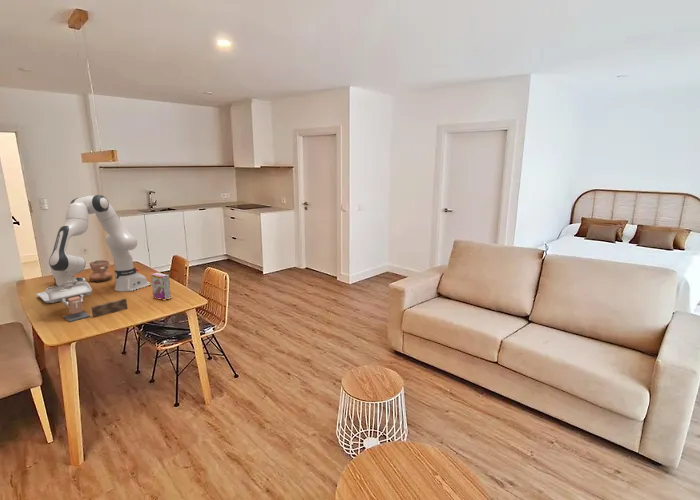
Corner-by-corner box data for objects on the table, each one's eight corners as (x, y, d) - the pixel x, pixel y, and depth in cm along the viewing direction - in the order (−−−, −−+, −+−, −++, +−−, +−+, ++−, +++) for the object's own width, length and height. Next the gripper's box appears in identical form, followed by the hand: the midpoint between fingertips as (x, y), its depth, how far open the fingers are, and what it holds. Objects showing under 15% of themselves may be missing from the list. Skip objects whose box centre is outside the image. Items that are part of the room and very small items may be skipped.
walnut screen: (125, 307, 235) (124, 298, 233) (127, 308, 233) (126, 299, 232) (92, 316, 221) (91, 306, 219) (94, 317, 220) (92, 307, 218)
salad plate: (74, 290, 264) (74, 285, 263) (85, 297, 251) (85, 292, 250) (36, 298, 248) (35, 293, 247) (45, 306, 235) (44, 301, 234)
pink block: (79, 309, 222) (77, 295, 220) (82, 311, 219) (80, 298, 217) (69, 311, 218) (67, 298, 216) (72, 313, 215) (70, 300, 213)
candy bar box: (152, 298, 251) (150, 274, 248) (159, 296, 256) (157, 272, 252) (164, 301, 247) (162, 276, 243) (171, 298, 251) (169, 274, 248)
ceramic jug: (115, 280, 285) (113, 262, 282) (93, 284, 274) (90, 265, 272) (108, 276, 297) (106, 258, 294) (86, 279, 287) (84, 261, 284)
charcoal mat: (83, 312, 226) (83, 311, 226) (90, 316, 220) (90, 315, 220) (63, 317, 218) (63, 316, 218) (69, 322, 213) (69, 320, 212)
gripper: (45, 285, 211) (53, 306, 207) (87, 277, 227) (96, 296, 223) (43, 291, 214) (52, 312, 211) (85, 282, 230) (94, 302, 227)
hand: (75, 304), depth 217 cm, fingers closed on pink block, 5 cm apart
